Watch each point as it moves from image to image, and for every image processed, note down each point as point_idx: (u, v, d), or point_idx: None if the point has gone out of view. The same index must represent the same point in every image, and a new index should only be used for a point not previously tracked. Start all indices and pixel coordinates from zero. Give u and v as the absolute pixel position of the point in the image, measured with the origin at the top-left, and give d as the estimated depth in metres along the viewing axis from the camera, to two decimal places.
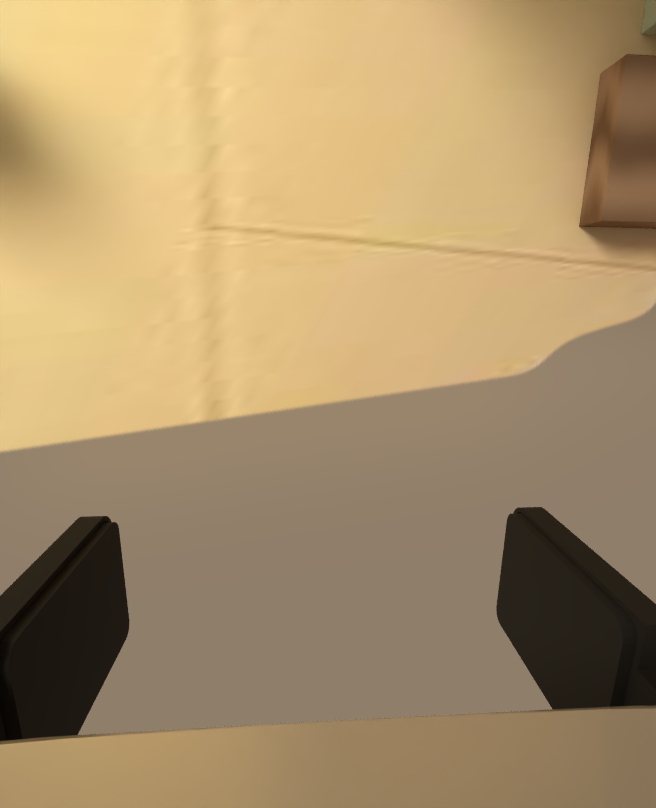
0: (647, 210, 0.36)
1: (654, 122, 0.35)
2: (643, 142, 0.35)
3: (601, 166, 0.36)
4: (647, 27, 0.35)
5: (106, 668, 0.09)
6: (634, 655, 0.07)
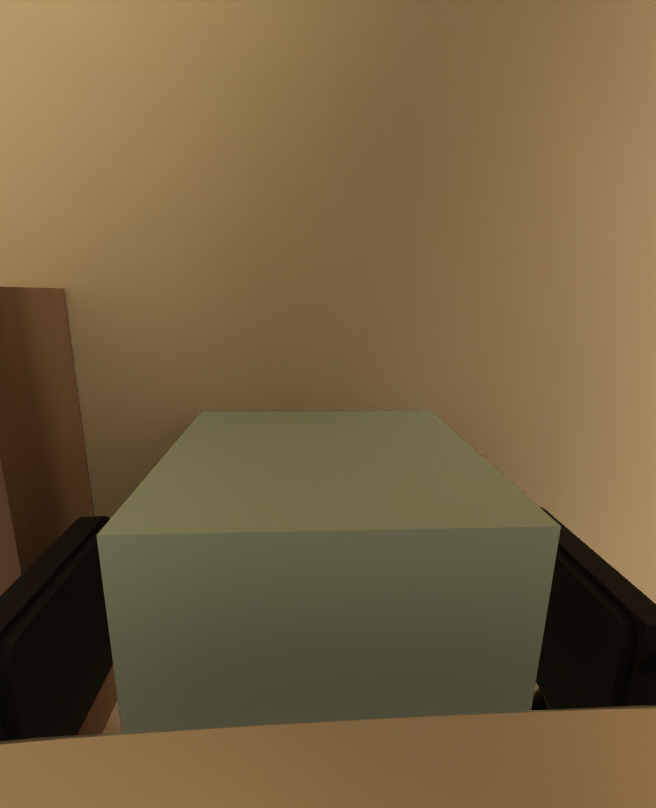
0: None
1: None
2: None
3: None
4: (203, 419, 0.11)
5: (106, 668, 0.09)
6: (634, 655, 0.07)
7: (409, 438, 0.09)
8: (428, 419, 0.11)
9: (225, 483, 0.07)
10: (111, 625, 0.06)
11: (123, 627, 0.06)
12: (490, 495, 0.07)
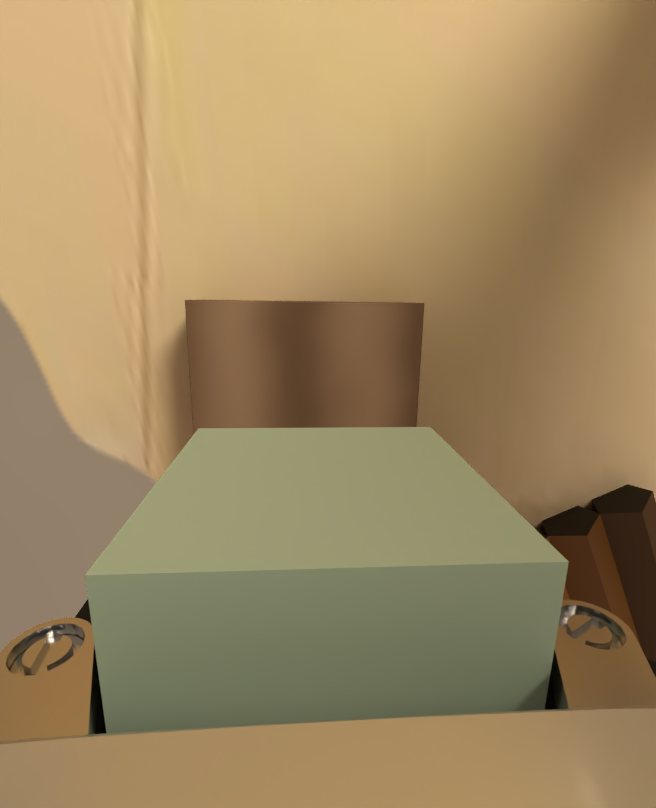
0: (206, 377, 0.22)
1: (334, 364, 0.23)
2: (306, 352, 0.22)
3: None
4: (199, 438, 0.10)
5: None
6: None
7: (409, 460, 0.09)
8: (428, 437, 0.10)
9: (220, 513, 0.07)
10: (101, 667, 0.06)
11: (113, 669, 0.05)
12: (494, 525, 0.06)
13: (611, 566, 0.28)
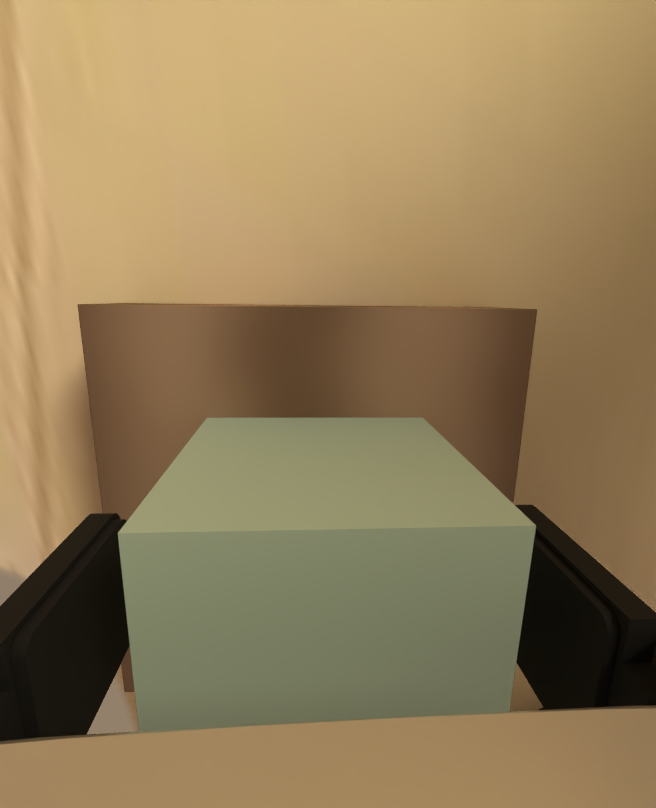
0: (127, 448, 0.12)
1: None
2: (314, 400, 0.12)
3: None
4: (208, 426, 0.11)
5: (116, 663, 0.09)
6: (618, 649, 0.07)
7: (402, 445, 0.10)
8: (420, 426, 0.11)
9: (232, 486, 0.08)
10: (129, 616, 0.06)
11: (140, 617, 0.06)
12: (474, 497, 0.07)
13: None
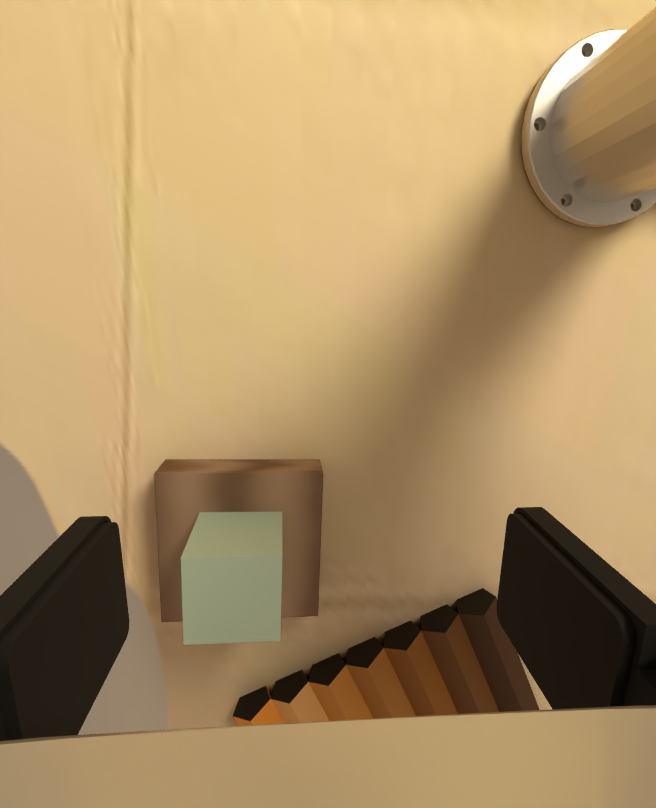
0: (168, 523, 0.31)
1: None
2: (240, 505, 0.32)
3: (220, 468, 0.32)
4: (200, 517, 0.31)
5: (106, 668, 0.09)
6: (634, 655, 0.07)
7: (265, 527, 0.30)
8: (278, 517, 0.31)
9: (208, 544, 0.27)
10: (181, 577, 0.26)
11: (184, 578, 0.26)
12: (273, 547, 0.27)
13: (468, 652, 0.38)
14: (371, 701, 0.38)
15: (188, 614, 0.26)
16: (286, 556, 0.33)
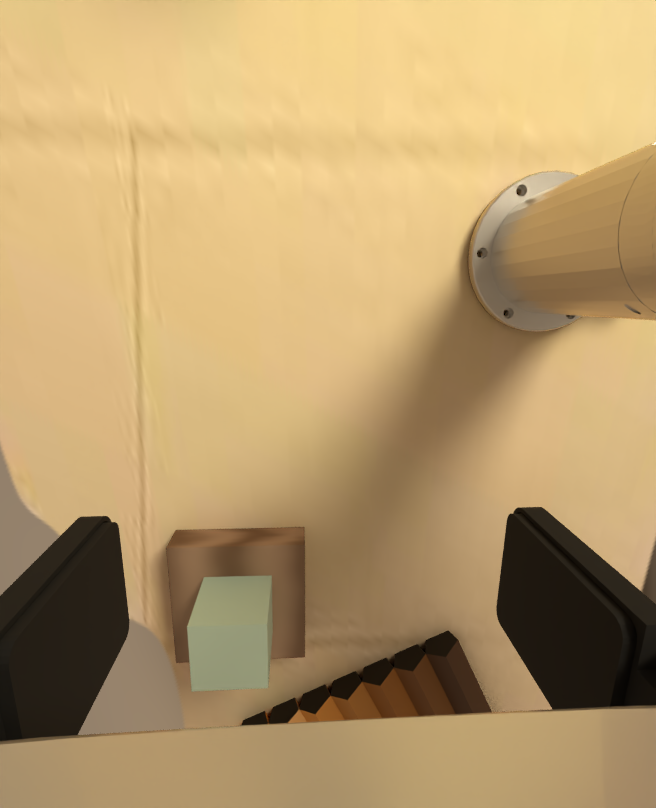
0: (179, 586, 0.38)
1: None
2: (237, 571, 0.39)
3: (220, 540, 0.39)
4: (204, 582, 0.38)
5: (106, 668, 0.09)
6: (634, 655, 0.07)
7: (256, 593, 0.36)
8: (267, 581, 0.38)
9: (209, 612, 0.34)
10: (188, 641, 0.33)
11: (190, 641, 0.33)
12: (260, 615, 0.34)
13: (435, 685, 0.44)
14: None
15: (194, 668, 0.34)
16: (276, 610, 0.40)
